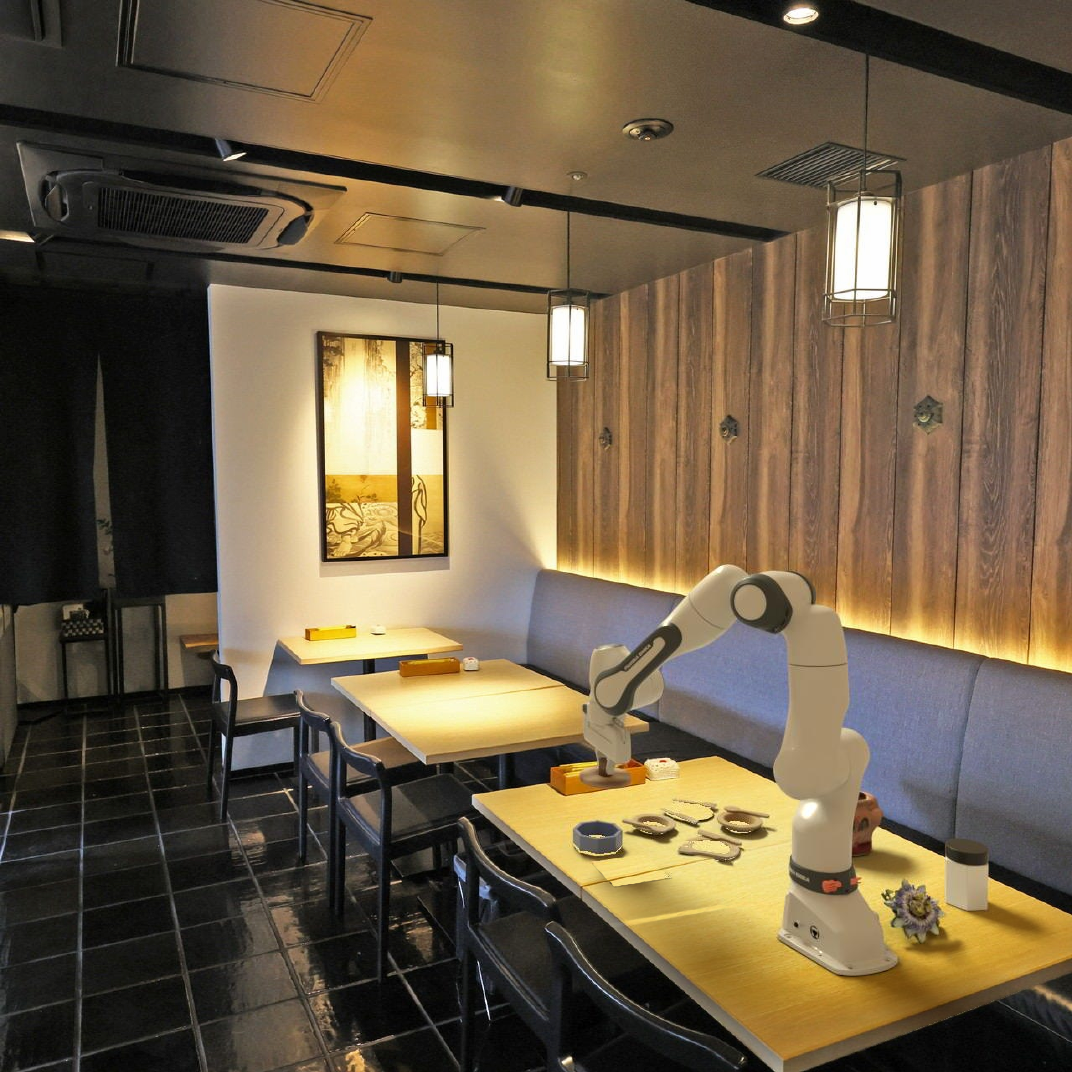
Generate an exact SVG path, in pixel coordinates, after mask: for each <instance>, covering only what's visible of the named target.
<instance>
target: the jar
mask: <svg viewBox="0 0 1072 1072" xmlns="http://www.w3.org/2000/svg"><path fill="white" fill-rule="evenodd" d="M944 843H945V845H944V851H945V853H944V854H945V865H944V866H945V867H944V869H945V870H944V872H945V873H944V901H945V904H948V905H951V906H952V907H953V906H954V907H956V908H958V909H960V910H963V911H966V912H970V911H971V912H972V911H973V912H974V911H988V902H989V901H988V898H989V859H990V858H989V856H990V854H989V852H990V851H989V848H988V847H987V845H985V844H984V843H982V842H979V841H976V840H971V839H967V838H950V839H947V840H946V841H945V842H944Z"/></svg>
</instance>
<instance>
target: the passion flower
mask: <svg viewBox="0 0 1072 1072" xmlns="http://www.w3.org/2000/svg"><path fill="white" fill-rule="evenodd" d="M926 890H927V886H926V884H921V885H919V886H917V887H916V888H915V885H914V884H912V885H911V884H910V883H909V881H908V879H906V878H905V877H903V878H902V879H901V884H900V887H899V888H898V889H896V890H892V889H889V888H887V889H885V890H884V891H885V893H884V892H883V891H882V893H881V894H880V895H881V897H882V898H883V899H884V902H883V905H884V906H886V907H888V908H890V909H891V911H892V913H893V914H894V917H893V918H892V919H891V920H890V922H889V923H890V926H891V928H895V929H897V928H900V927H902V930H903V933H904V935H905V937H907V939H911V938H912V937H914V938H915V939H916V940H917V942H919V944H923V943H924V942H925V941H926V937H927V936H926V935H927V932H928V931H929V932H930V933H931V934H933V935H936V936H938V935H940V934H939V928H940V923H941V921H940V919H939V918H944V917H946V914H947V913H946V911H945V910H942V909H941V908H940V906H938V904H939V902H940V901H939V899H938V898H936V897H931V895H928V894H927V891H926ZM893 893H894V895H893V897H892V896H891V895H890V894H893ZM926 894H927V895H926ZM887 897H888V898H887Z"/></svg>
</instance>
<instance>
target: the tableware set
mask: <svg viewBox="0 0 1072 1072" xmlns="http://www.w3.org/2000/svg"><path fill="white" fill-rule="evenodd" d="M677 799H679V800H677ZM672 800H673V801H679V802H684V803H690V804H700V805H702V806H705V807H711V809H716V807H717V805H718V804H717V803H713V802H697V801H692V800H686V799H680V798H672V799H671V801H672ZM659 810H663V811H665V812H668V813H669V814H671V815H676V816H678V817H680V818H682V819H685V820H688V821H690V822H693V823H694V824H695V823H699V821H698V820H696V819H694V818H692V817H689V816H687V815H684V814H681V813H679V814H678V813H674V812H672V811H670V810H667V809H665V808H664V807H661V808H660V809H659ZM723 810H724V811H723V812H720V813H719V814H718V815H716V821H717V823H719V824H720V825H721V826H723V827H726V828H728V829H729V830H733V831H737V832H749V831H752V830H753V831H754V830H756V829H759V828H760V827H762V826H763V818H764V819H769V818H771V817H770V816H771V815H770V814H769V813H763V812H760V811H759V812H758V811H753V810H747V809H742V808H740V807H737V806H734V805H725V806H723ZM621 821H622V823H623V824H627V825H630V826H632V827H633V828H635V829H637V830H638V829H639V830H642V831H645V832H648V833H652V834H661V833H665V832H667V831H668V832H670V831H672V830H674V829H675V828H676V826H677V822H676V821H675V819H674V818H671V817H669V816H668V815H663V814H657V813H641V814H637V815H634V816H632V817H631V818H630V819H629V818H622V819H621ZM647 821H649V822H657V823H660V824H662V825H665V826H666V827H663V826H657V825H654V826H653V825H648V824H644V823H643V822H647ZM730 821H740V822H745V823H747V824H749V825H737V824H732V823H729V822H730ZM694 824H693V825H694ZM726 828H725V829H726ZM639 830H638V831H639ZM668 832H667V833H668ZM665 834H666V833H665ZM697 834H698V835H701V836H693V837H694V838H693V837H690V838H691V839H690V838H688V839H686V840H685V841H689V842H688V843H685V844H683V843H682V845H680V846H679V847H678V849H677V852H678V853H681V854H686V855H693V856H696V857H700V858H704V859H710V860H711V859H713V860H714V861H716V860H724V861H729V859H730V858H733V857H735V856H737V855H738V854H740V848H739V847H742V846H743V842H742V841H740V840H736V839H734V838H731V837H726V836H723V835H721V834H717V833H715V832H712V831H708V830H704V829H698V830H697ZM695 837H696V838H695ZM692 838H693V839H692ZM703 840H710V841H720V842H722V843H724V844H725V845H726V846H729V848H730V851H729V852H728V853H726V854H722V853H714V852H707V851H703V850H698V849H695V848H693V844H694V842H693V843H692V841H703ZM690 841H691V843H690ZM685 846H688V847H685ZM738 856H739V855H738ZM738 856H737V857H738ZM735 858H736V857H735ZM725 859H726V860H725ZM733 859H734V858H733ZM730 860H731V859H730Z"/></svg>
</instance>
